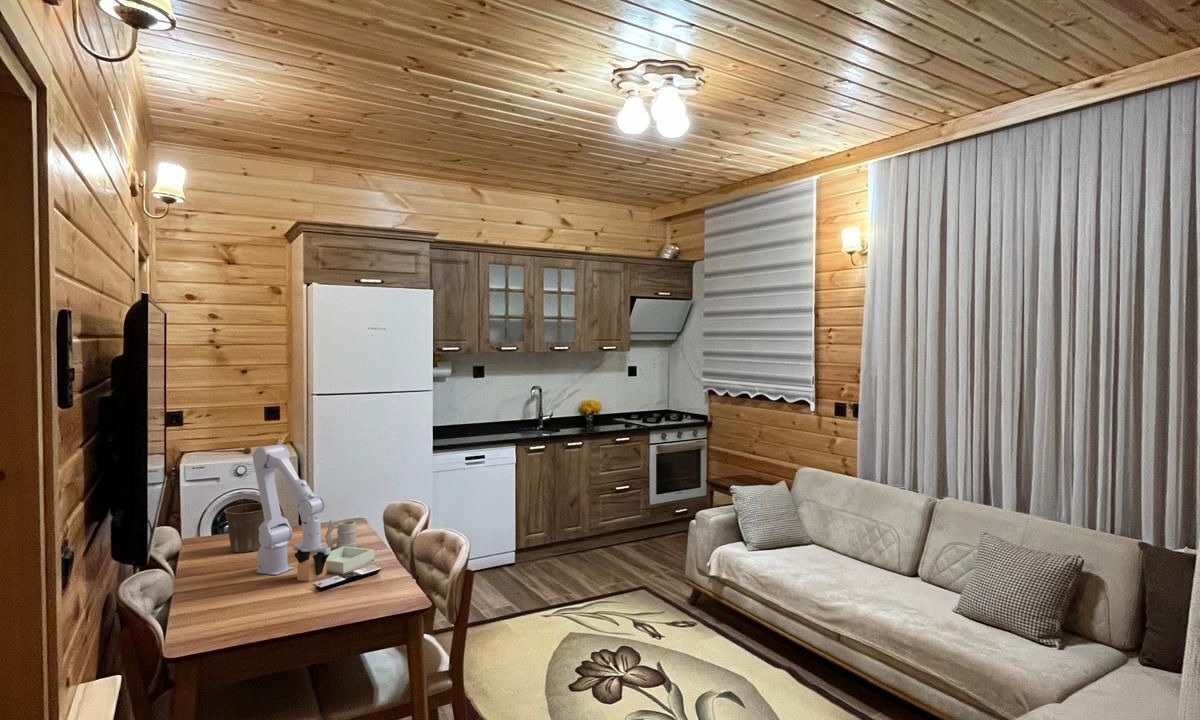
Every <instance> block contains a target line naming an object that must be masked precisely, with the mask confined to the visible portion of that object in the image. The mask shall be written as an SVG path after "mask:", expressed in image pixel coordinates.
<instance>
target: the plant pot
mask: <svg viewBox="0 0 1200 720" xmlns="http://www.w3.org/2000/svg"><path fill="white" fill-rule="evenodd" d="M223 513H224V514H225V520H226V522H227V528H228V537H229V545H230V551H231V552H232V551H233V552H232V553H235V552H247V553H249V552H257V551H258V550H259V548H260V547H261V546H262V545H261V544H260V542H259V526H260V525H261V524H262V523H263V522H264V520H265V519H264V514H263V508H262V503H261V502H257V503H256V502H255V503H253V502H252V503H251V502H250V503H241V504H236V505H232V506H229V507H227V508H225V509H224V510H223ZM256 550H257V551H256Z"/></svg>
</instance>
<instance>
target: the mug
mask: <svg viewBox="0 0 1200 720" xmlns="http://www.w3.org/2000/svg"><path fill="white" fill-rule="evenodd" d="M356 524H357V523H356V521H354V520H346V521H341V522H339V523H338V524H336V525H335V523H334V521H333V519H329V525H328V528H327V531H326V534H325V543H326V545H327V547H330V548H331V549H332V547H333V546H334V545H335V544H336V547H337V549H338V548H340V547H343V546H346V547H354V548H358V547H357V545H358V540H357V530H358V529H357V526H356ZM335 529H337V532H336V534H337V538H335V539H332V537H331V536H332V535H331V534H332V532H333V531H334V530H335Z"/></svg>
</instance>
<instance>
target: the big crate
mask: <svg viewBox="0 0 1200 720" xmlns="http://www.w3.org/2000/svg"><path fill="white" fill-rule="evenodd" d="M371 561H372V562H375V549H370V548H363V547H362V548H361V547H356V548H354V547H346V546H343V547H340V548H338V547H337V548H335V549H333V550H331V553H330V554H329V556H328V558H327V560H326V565H327V573H331V574H338V575H345V574H347V573H346V572H348V573H350V572H352V571H354V570H356V569H359V568H361V567H363V566H365V565H368V564H370V563H372V562H371ZM367 563H368V564H367ZM349 571H350V572H349ZM344 573H345V574H344Z"/></svg>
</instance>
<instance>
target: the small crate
mask: <svg viewBox="0 0 1200 720" xmlns="http://www.w3.org/2000/svg"><path fill="white" fill-rule="evenodd" d="M296 565H297V566H296V567H297V572H296V573H297V574H296V575H297V581H301V582H307V583H310V582H313V581H315V580H317V579H319V578H322V577H324V576H327V574H328V572H327V565H326V562H325V565H324V568H323V572H322V574H320V575H316V567H315V561H314V559H313V557H311V558H309V560H306V561H304V562H301V563H299V562H298V563H297V564H296Z"/></svg>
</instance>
